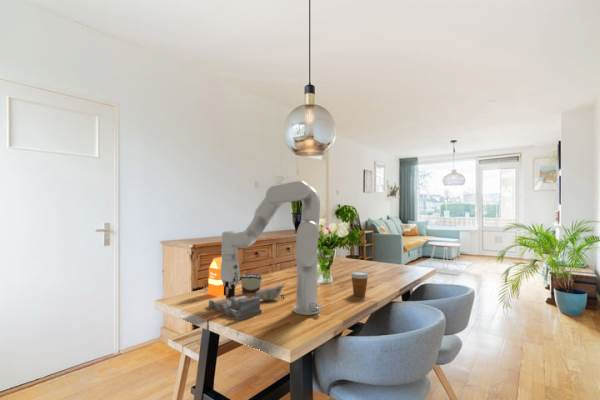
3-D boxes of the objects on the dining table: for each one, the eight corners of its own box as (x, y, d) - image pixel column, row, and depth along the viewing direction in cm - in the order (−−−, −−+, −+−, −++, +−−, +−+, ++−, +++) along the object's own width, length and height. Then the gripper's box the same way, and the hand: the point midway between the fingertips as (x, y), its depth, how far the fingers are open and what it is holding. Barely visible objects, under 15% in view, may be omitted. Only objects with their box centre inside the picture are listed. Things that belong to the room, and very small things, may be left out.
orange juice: (230, 292, 168) (230, 256, 169) (217, 296, 161) (218, 259, 161) (220, 290, 173) (221, 255, 173) (208, 294, 166) (208, 257, 166)
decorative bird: (252, 300, 155) (253, 286, 156) (282, 297, 162) (282, 283, 162) (255, 304, 150) (255, 289, 151) (285, 300, 157) (286, 286, 157)
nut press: (261, 313, 137) (261, 296, 137) (239, 320, 129) (239, 302, 129) (230, 300, 155) (230, 286, 155) (208, 306, 146) (209, 290, 146)
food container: (264, 291, 172) (264, 273, 172) (261, 294, 166) (261, 276, 166) (242, 290, 173) (243, 272, 173) (239, 293, 167) (239, 275, 167)
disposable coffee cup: (349, 296, 164) (349, 274, 164) (351, 291, 173) (352, 270, 173) (367, 298, 161) (367, 275, 161) (368, 293, 170) (369, 271, 170)
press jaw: (247, 305, 142) (247, 288, 142) (231, 310, 136) (231, 292, 136) (235, 300, 149) (235, 284, 149) (218, 305, 143) (219, 288, 143)
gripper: (246, 258, 142) (245, 297, 142) (226, 254, 153) (226, 290, 153) (232, 260, 137) (232, 301, 136) (213, 256, 148) (212, 293, 148)
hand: (229, 295), depth 145 cm, fingers closed on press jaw, 3 cm apart
